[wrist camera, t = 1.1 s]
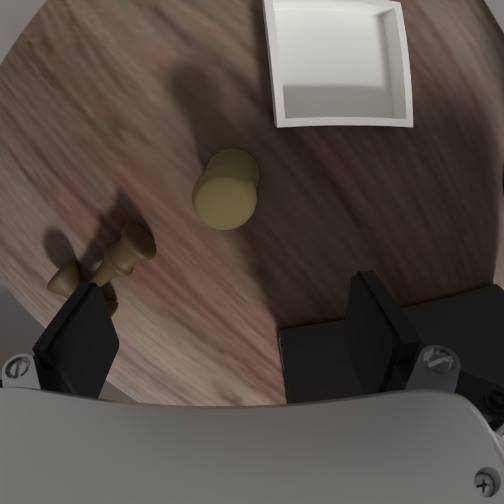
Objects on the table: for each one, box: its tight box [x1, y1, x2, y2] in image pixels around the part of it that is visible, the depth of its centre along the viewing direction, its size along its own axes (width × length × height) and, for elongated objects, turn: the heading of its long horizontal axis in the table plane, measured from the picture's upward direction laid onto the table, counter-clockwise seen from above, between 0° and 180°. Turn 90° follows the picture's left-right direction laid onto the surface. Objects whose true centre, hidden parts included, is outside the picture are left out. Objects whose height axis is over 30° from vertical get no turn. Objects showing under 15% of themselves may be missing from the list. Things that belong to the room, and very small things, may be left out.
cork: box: [192, 148, 260, 230], centre depth 28 cm, size 6×6×11 cm
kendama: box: [47, 222, 156, 317], centre depth 36 cm, size 6×10×20 cm
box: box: [262, 0, 413, 128], centre depth 25 cm, size 14×14×4 cm
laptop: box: [278, 284, 504, 404], centre depth 34 cm, size 37×27×27 cm
